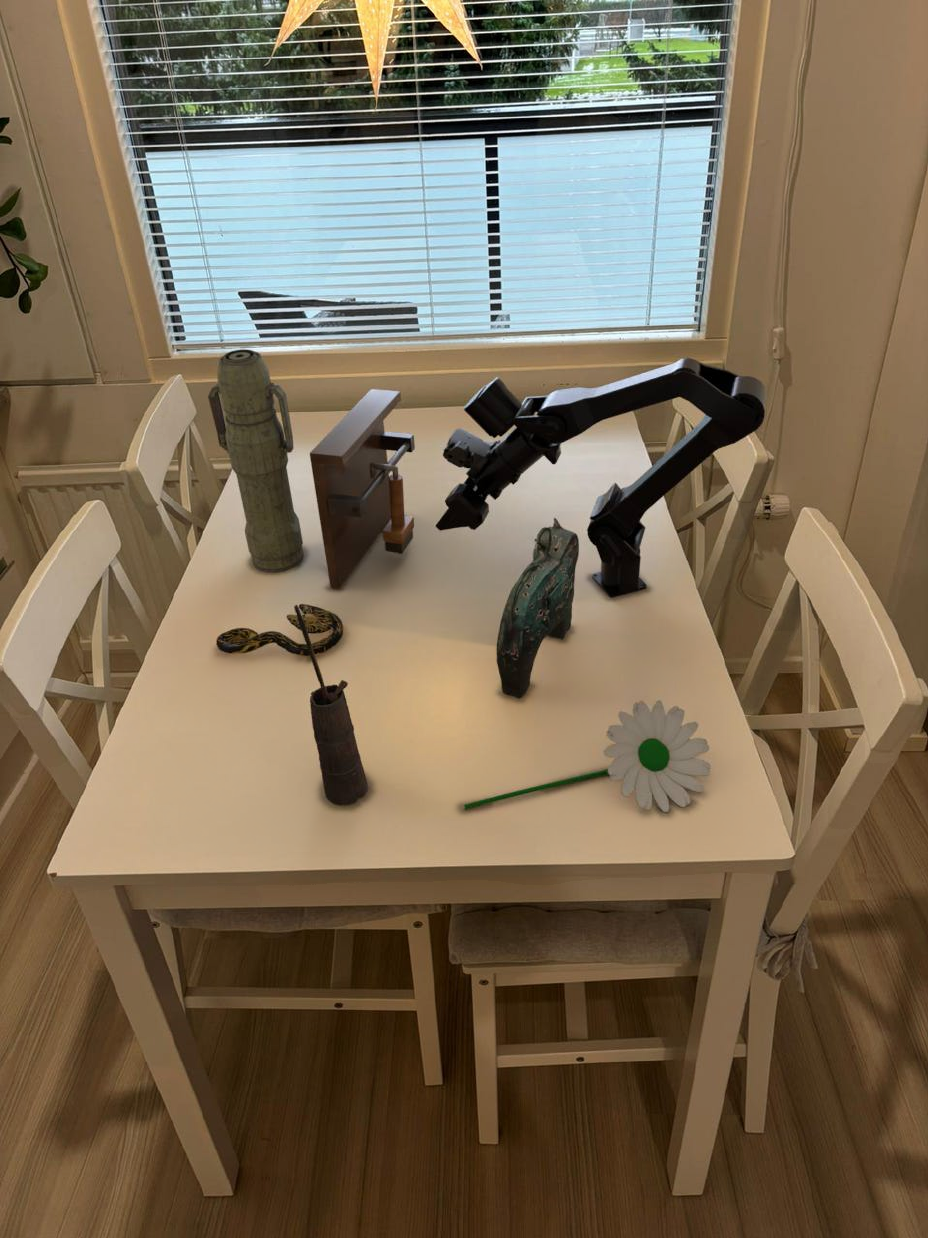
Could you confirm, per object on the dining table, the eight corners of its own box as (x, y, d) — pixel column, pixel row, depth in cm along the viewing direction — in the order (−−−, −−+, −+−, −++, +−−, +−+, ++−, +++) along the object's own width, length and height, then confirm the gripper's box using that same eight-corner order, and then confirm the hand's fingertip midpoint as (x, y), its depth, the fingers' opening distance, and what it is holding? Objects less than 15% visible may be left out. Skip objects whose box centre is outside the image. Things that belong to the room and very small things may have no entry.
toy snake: (206, 629, 131) (231, 594, 140) (210, 656, 134) (235, 620, 142) (329, 640, 129) (347, 604, 137) (331, 668, 131) (349, 630, 140)
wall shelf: (421, 518, 164) (410, 391, 150) (370, 594, 146) (353, 457, 132) (384, 514, 166) (371, 388, 152) (330, 588, 147) (309, 453, 133)
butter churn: (370, 746, 118) (344, 561, 101) (403, 794, 111) (381, 603, 95) (302, 774, 115) (264, 587, 98) (332, 825, 108) (296, 633, 91)
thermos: (250, 544, 159) (208, 344, 139) (317, 544, 158) (285, 343, 138) (236, 572, 152) (189, 367, 131) (306, 573, 151) (271, 365, 130)
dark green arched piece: (547, 615, 139) (548, 497, 127) (587, 625, 137) (593, 506, 125) (488, 694, 125) (484, 570, 113) (532, 707, 123) (532, 582, 111)
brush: (414, 537, 155) (411, 459, 146) (403, 554, 151) (399, 475, 142) (381, 531, 157) (376, 454, 148) (369, 549, 152) (363, 470, 144)
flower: (450, 751, 108) (693, 684, 110) (451, 760, 113) (683, 697, 116) (480, 863, 104) (733, 792, 106) (480, 867, 109) (721, 799, 111)
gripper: (491, 392, 143) (429, 451, 152) (455, 445, 129) (388, 506, 138) (541, 443, 145) (477, 498, 155) (511, 500, 131) (442, 557, 141)
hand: (446, 513), depth 147 cm, fingers open, 9 cm apart
